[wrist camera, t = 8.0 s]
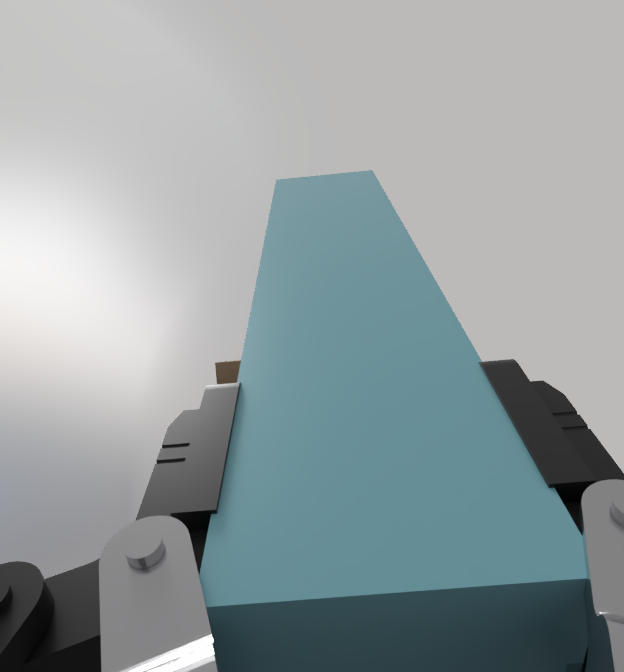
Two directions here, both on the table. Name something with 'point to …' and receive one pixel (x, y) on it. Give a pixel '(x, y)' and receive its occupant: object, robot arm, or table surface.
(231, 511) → the long light blue beam
